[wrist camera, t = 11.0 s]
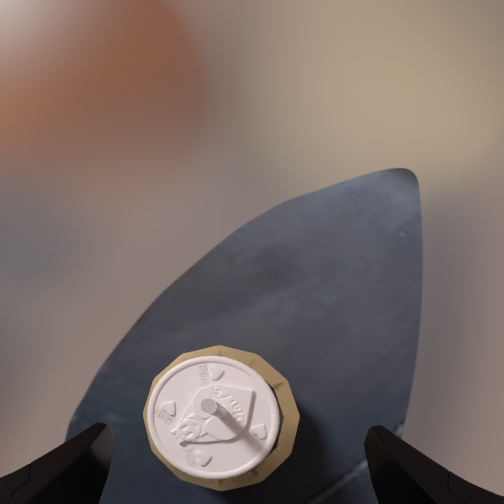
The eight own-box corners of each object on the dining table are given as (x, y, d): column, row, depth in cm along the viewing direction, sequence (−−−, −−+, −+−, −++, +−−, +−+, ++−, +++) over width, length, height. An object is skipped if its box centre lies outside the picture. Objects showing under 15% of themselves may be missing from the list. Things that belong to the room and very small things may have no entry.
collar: (273, 490, 17) (277, 502, 14) (147, 455, 18) (129, 459, 15) (300, 375, 22) (310, 364, 19) (181, 346, 23) (170, 331, 20)
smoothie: (285, 430, 20) (332, 433, 8) (216, 473, 18) (171, 529, 6) (237, 368, 23) (221, 292, 11) (170, 408, 21) (79, 376, 9)
